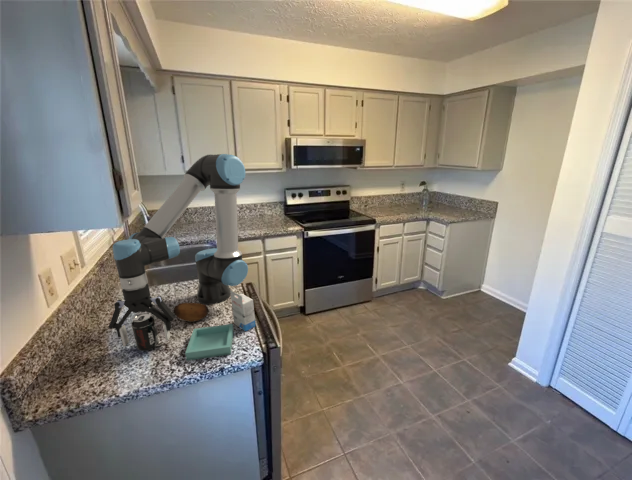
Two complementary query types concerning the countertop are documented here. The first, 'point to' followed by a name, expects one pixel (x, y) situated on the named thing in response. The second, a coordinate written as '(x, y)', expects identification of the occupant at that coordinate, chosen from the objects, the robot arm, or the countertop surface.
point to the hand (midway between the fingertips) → (147, 341)
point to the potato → (191, 311)
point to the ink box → (243, 311)
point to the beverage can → (145, 331)
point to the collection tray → (210, 342)
